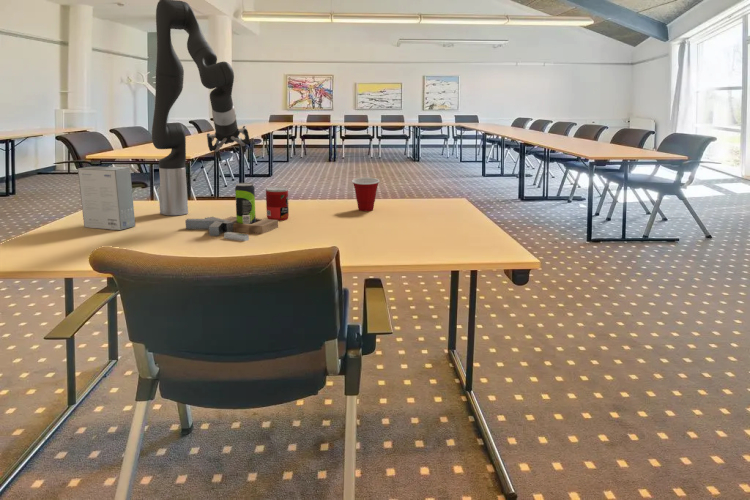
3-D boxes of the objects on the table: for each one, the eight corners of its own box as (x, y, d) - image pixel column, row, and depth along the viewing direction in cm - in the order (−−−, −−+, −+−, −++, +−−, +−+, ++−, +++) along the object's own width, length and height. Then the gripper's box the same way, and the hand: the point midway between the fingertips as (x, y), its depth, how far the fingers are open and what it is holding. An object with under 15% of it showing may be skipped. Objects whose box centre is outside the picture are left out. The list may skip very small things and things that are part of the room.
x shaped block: (213, 237, 199) (212, 227, 198) (182, 228, 211) (182, 219, 210) (239, 232, 206) (239, 223, 205) (208, 224, 218) (208, 215, 217)
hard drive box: (136, 226, 213) (131, 167, 208) (120, 231, 206) (115, 170, 201) (99, 223, 218) (93, 165, 213) (82, 227, 211) (76, 167, 206)
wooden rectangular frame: (214, 229, 209) (213, 222, 209) (231, 223, 219) (231, 216, 219) (262, 233, 204) (262, 226, 203) (278, 227, 214) (277, 220, 213)
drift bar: (224, 239, 197) (223, 233, 197) (228, 238, 199) (228, 231, 199) (244, 242, 194) (244, 235, 193) (248, 240, 196) (248, 234, 195)
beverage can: (259, 227, 213) (258, 183, 210) (248, 231, 208) (246, 185, 204) (244, 225, 216) (242, 182, 212) (233, 229, 210) (231, 184, 207)
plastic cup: (348, 211, 243) (348, 180, 240) (355, 206, 253) (355, 177, 250) (376, 213, 241) (376, 181, 238) (382, 208, 251) (382, 178, 248)
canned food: (284, 221, 224) (283, 190, 222) (263, 220, 226) (262, 189, 223) (291, 217, 231) (291, 187, 229) (271, 216, 233) (270, 186, 230)
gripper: (242, 107, 217) (248, 144, 229) (201, 115, 213) (209, 153, 225) (247, 120, 212) (253, 157, 224) (205, 128, 208) (213, 166, 220)
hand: (231, 155), depth 225 cm, fingers open, 8 cm apart
